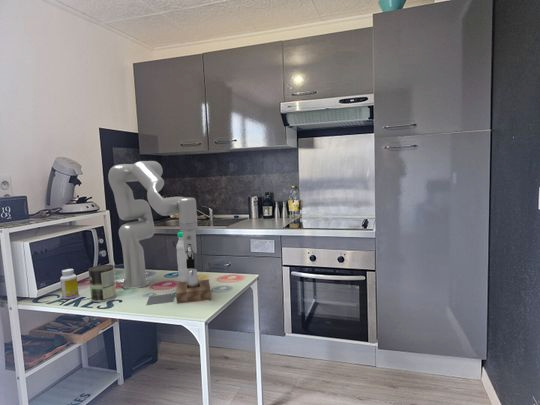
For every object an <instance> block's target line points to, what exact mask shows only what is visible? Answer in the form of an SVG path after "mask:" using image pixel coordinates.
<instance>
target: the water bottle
mask: <svg viewBox="0 0 540 405" xmlns="http://www.w3.org/2000/svg"><path fill="white" fill-rule="evenodd" d="M177 238H178V241H177V243H176V248H175V249H176V261H177V271H178V272H177V273H178V282H179V283H182V282H188V273H187V270H190V269H187V263H186V259H187V254H185V250H184V242H183V231H178V232H177ZM191 269H193V268H191Z"/></svg>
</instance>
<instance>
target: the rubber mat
mask: <svg viewBox="0 0 540 405" xmlns="http://www.w3.org/2000/svg"><path fill="white" fill-rule="evenodd" d="M175 295H176V292H174V293H173V292H172V293H166V294H157V295H150V296H148V299H147V301H146V304H145V306H152V305H160V304H167V303H173V302H174V300H175Z"/></svg>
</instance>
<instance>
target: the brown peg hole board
mask: <svg viewBox="0 0 540 405" xmlns="http://www.w3.org/2000/svg"><path fill="white" fill-rule="evenodd" d="M211 294H212V293H211V284H210V279H209V278H208V279H200V280H198V287H196V288H189V286H188V282H177V285H176V292H175V295H176V296H175V298H176V304H177V305H178V304H183V303H191V302H199V301H206V300H208V301H209V302H210V301H212V295H211Z"/></svg>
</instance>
